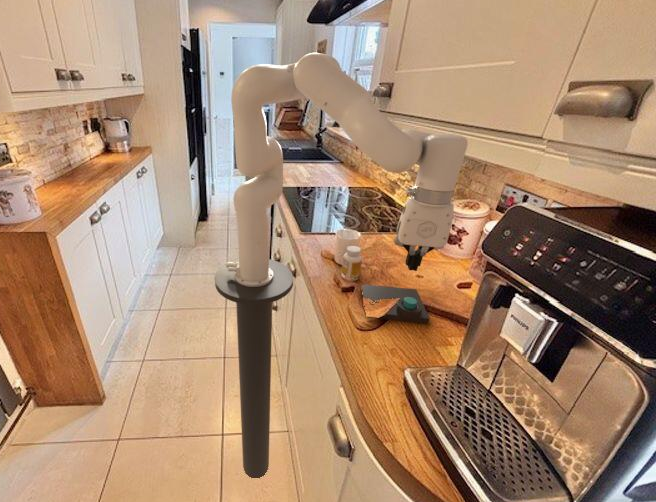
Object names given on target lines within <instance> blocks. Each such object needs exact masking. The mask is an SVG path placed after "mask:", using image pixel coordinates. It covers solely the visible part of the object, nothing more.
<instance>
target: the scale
mask: <svg viewBox="0 0 656 502" xmlns="http://www.w3.org/2000/svg"><path fill="white" fill-rule="evenodd" d="M361 287H362V290H361ZM362 292H363V295H362ZM360 295H361V299H362V298H363V297H364V298H365V299H366V298H367V299H368V298H369V299H371V300H372V301H373V302H375V300H380V299H381V300H382V299H392V298H393V299H396V298H400V299H398V301H397V303H396V305H395V306H394V307H393V308H392V309H391V310H390V311H389V312H388V313H386V314H385V315H386V316H382V317H380V318H379V319H378V320H385V321H386V320H387V321H395V322H396V321H397V322H406V323H414V324H424V325H429V322H430V316H429V314H428V312H427V310H426V307H425V305H424V303H423V301H422V299H421V297H420V295H419V292H418V289H416V288H406V287H396V286H385V285H384V286H383V285H375V284H373V285H372V284H360ZM406 297H412V298H414V299H416V300H417V305H416V308H415V309H408V308H405V307H404V306H403V302H404V298H406ZM373 302H372V303H373ZM369 303H370V302H369ZM375 303H379V302H377V301H376V302H375ZM370 304H371V303H370ZM371 305H374V304H371ZM364 307H365V306H363V308H364ZM363 311H364V312H365V310H364V309H363Z"/></svg>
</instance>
